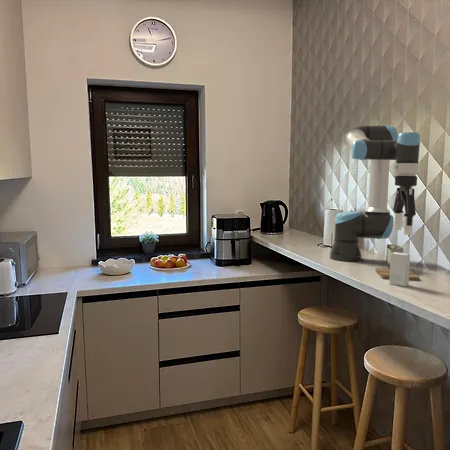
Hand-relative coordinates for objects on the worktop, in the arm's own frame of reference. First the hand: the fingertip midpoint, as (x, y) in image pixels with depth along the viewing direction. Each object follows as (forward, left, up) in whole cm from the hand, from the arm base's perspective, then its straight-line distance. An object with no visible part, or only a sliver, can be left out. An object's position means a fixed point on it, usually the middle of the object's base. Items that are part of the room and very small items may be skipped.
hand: (402, 232), depth 157 cm
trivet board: (-15, +3, -20) cm, 25 cm away
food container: (-29, +6, -20) cm, 36 cm away
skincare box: (0, 0, -20) cm, 20 cm away
